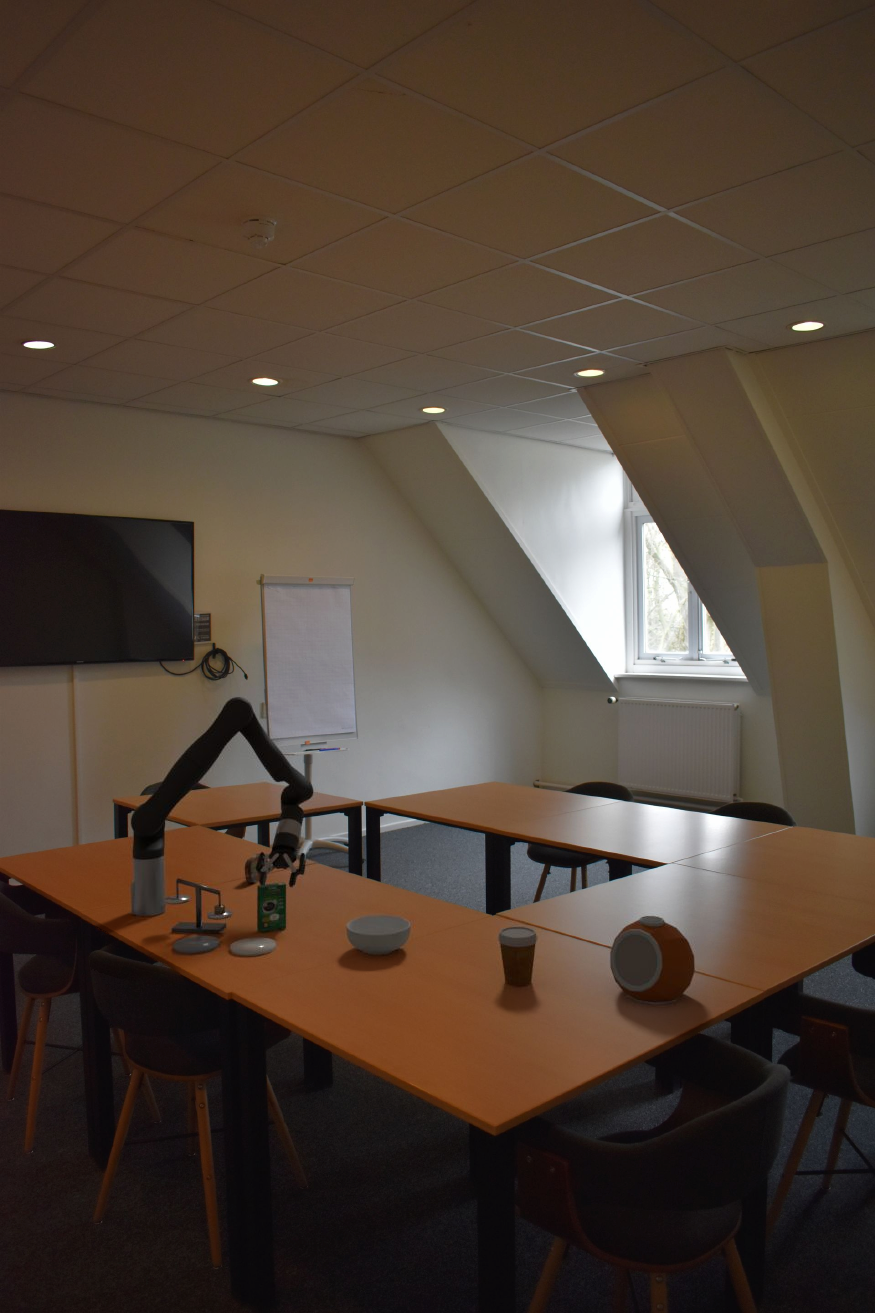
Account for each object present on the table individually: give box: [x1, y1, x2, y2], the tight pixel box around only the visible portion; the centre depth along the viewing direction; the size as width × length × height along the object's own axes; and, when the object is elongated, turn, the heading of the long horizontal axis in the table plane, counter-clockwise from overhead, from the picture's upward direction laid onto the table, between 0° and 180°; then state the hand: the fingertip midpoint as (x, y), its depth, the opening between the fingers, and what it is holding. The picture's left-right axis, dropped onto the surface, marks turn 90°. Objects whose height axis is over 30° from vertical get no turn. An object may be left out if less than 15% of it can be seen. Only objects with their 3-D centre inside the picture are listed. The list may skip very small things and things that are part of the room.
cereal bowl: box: [346, 914, 411, 956], centre depth 249 cm, size 17×17×7 cm
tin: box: [244, 853, 269, 884], centre depth 324 cm, size 15×3×8 cm, turn 168°
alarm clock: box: [609, 915, 696, 1005], centre depth 216 cm, size 19×18×17 cm
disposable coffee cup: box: [497, 925, 538, 987], centre depth 225 cm, size 10×10×12 cm
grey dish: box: [173, 935, 220, 955], centre depth 254 cm, size 12×12×1 cm
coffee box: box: [256, 882, 287, 934], centre depth 268 cm, size 8×3×13 cm, turn 119°
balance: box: [165, 878, 233, 935], centre depth 269 cm, size 20×7×15 cm, turn 82°
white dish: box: [229, 937, 277, 957], centre depth 252 cm, size 12×12×1 cm
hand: (276, 885), depth 272 cm, fingers open, 8 cm apart
